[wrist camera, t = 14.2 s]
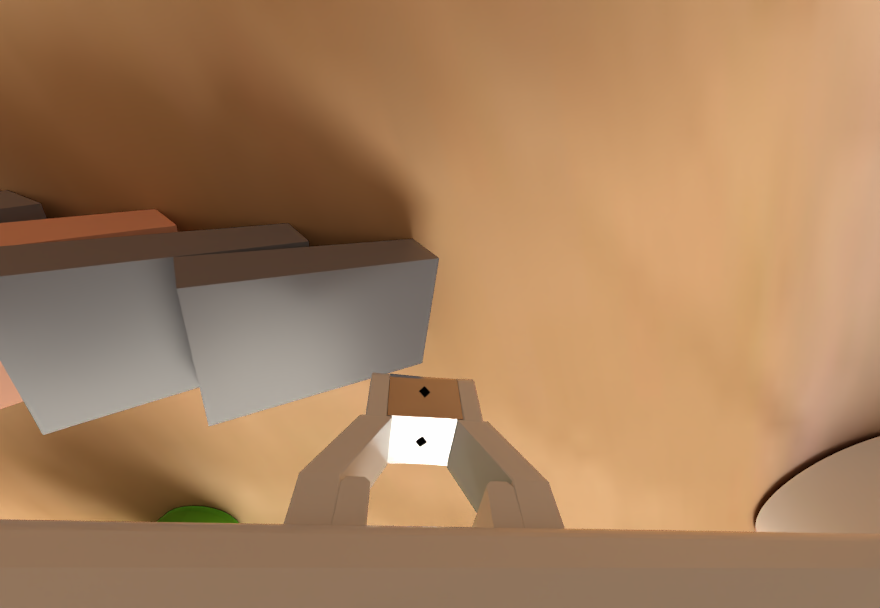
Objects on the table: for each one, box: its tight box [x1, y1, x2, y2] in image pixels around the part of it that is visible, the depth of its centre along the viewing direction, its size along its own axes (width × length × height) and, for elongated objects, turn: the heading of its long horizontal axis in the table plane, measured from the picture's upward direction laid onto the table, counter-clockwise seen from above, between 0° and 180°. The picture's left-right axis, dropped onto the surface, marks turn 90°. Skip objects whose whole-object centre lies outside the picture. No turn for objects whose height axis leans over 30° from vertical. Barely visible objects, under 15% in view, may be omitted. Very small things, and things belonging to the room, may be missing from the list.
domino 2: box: [0, 223, 309, 435], centre depth 12 cm, size 2×5×8 cm
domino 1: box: [0, 209, 178, 409], centre depth 11 cm, size 2×5×8 cm
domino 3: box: [173, 239, 439, 426], centre depth 13 cm, size 2×5×8 cm
